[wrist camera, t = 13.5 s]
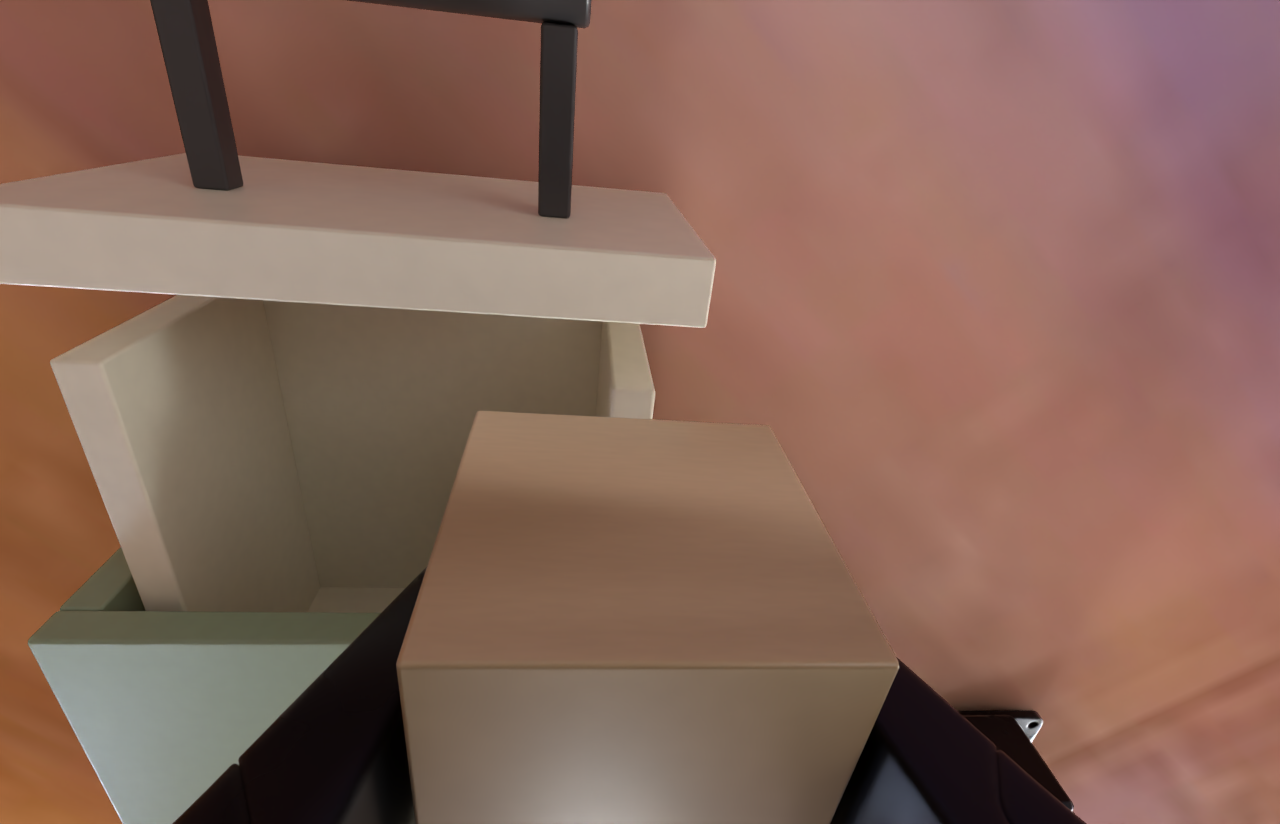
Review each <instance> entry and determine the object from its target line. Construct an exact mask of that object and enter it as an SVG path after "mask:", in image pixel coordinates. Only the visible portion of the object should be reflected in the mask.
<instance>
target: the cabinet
mask: <svg viewBox="0 0 1280 824" xmlns="http://www.w3.org/2000/svg"><path fill="white" fill-rule="evenodd" d="M379 614H380V613H328V612H190V611H146V610H145V608H144V605H143V602H142V600H141V597H140V595H139V592H138V589H137V587H136V584H135V582H134V579H133V577H132V574H131V571H130V569H129V566H128V564H127V561H126V558H125V556H124V553H123V551H122V548H121V547H120V548H119V549H118V550H117V551H116V552H115V553H114V554H113V555H112V556H111V557H110V558H109V559H108V560H107V561H106V562H105V563H104V564H103V565H102V566H101V567H100V568H99V569H98V570H97V571H96V572H95V573H94V574H93V575H92V576H91V577H90V578H89V579H88V580H87V581H86V582H85V583H84V584H83V585H82V586H81V587H80V588H79V589H78V590H77V591H76V592H75V593H74V594H73V595H72V596H71V597H70V598H69V599H68V600H67V601H66V602H65V603H64V604H63V605H62V606H61V608H60V611H58V612H56V613H54V614H53V615H52V616H51V617H50V618H49V619H48V620H47V621H46V622H45V623H44V624H43V625H42V626H41V627H40V628H39V629H38V630H37V631H36V632H35V633H34V634H33V635H32V636H31V637H30V638H29V640H28V645H29V647H30V649H31V651H32V653H33V655H34V657H35V658H36V660H37V662H38V664H39V666H40V668H41V670H42V672H43V674H44V675H45V677H46V679H47V681H48V683H49V685H50V687H51V689H52V691H53V693H54V694H55V696H56V698H57V700H58V702H59V704H60V706H61V708H62V710H63V712H64V713H65V715H66V717H67V719H68V721H69V723H70V725H71V727H72V729H73V730H74V732H75V734H76V736H77V738H78V740H79V742H80V744H81V746H82V748H83V749H84V751H85V753H86V755H87V757H88V759H89V761H90V763H91V765H92V766H93V768H94V770H95V772H96V774H97V776H98V778H99V780H100V782H101V784H102V785H103V787H104V789H105V791H106V793H107V795H108V797H109V799H110V801H111V802H112V804H113V806H114V808H115V810H116V812H117V814H118V816H119V818H120V820H121V821H122V823H123V824H172V823H173V822H174V821H175V820H177V819H178V818H179V817H180V816H181V815H182V814H183V813H184V812H185V811H186V810H187V809H188V808H189V807H190V806H191V805H192V804H193V803H194V802H195V801H196V800H197V799H198V798H199V797H200V796H201V795H202V794H203V793H204V792H205V791H206V790H207V789H208V788H209V787H210V786H211V785H212V784H213V783H214V782H215V781H216V780H217V779H218V778H219V777H220V776H221V775H222V774H223V773H224V772H225V771H226V770H227V769H228V768H229V767H230V766H231V765H232V764H238V765H239V762H238V759H239V757H240V756H241V755H242V754H243V753H244V752H245V751H246V750H247V749H248V748H249V747H250V746H251V745H252V744H253V743H254V742H255V741H256V740H257V739H258V738H259V737H260V736H261V735H262V734H263V732H264V731H265V730H266V729H267V728H268V727H269V726H270V725H271V724H272V723H273V722H274V721H275V720H276V719H277V718H278V717H279V716H280V715H281V714H282V713H283V712H284V711H285V710H286V709H287V708H288V707H289V706H290V705H291V704H292V703H293V702H294V701H295V700H296V699H297V698H298V697H299V696H300V695H301V694H302V693H303V692H304V691H305V690H306V689H307V688H308V687H309V686H310V685H311V684H312V683H313V682H314V681H315V680H316V679H317V678H318V677H319V676H320V674H321V673H322V672H323V671H324V670H325V669H326V668H327V667H328V666H329V665H330V664H331V663H332V662H333V661H334V660H335V659H336V658H337V657H338V656H339V655H340V654H341V653H342V652H343V651H344V650H345V649H346V648H347V647H348V646H349V645H350V644H351V643H352V642H353V641H354V640H355V639H356V638H357V637H358V636H359V635H360V634H361V633H362V632H363V631H364V630H365V629H366V628H367V627H368V626H369V625H370V624H371V623H372V622H373V621H374V620H375V619H376V618H377V617H378V615H379Z"/></svg>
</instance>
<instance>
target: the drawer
mask: <svg viewBox="0 0 1280 824" xmlns="http://www.w3.org/2000/svg"><path fill="white" fill-rule="evenodd" d="M150 1H151V6H152V10H153V14H154V19H155V23H156V27H157V31H158V36H159V40H160V44H161V49H162V53H163V57H164V61H165V66H166V70H167V74H168V79H169V83H170V87H171V91H172V96H173V100H174V104H175V109H176V113H177V117H178V121H179V126H180V130H181V134H182V139H183V143H184V147H185V151H186V153H182V154H176V155H170V156H164V157H158V158H152V159H146V160H141V161H135V162H129V163H123V164H117V165H111V166H105V167H99V168H93V169H87V170H81V171H75V172H69V173H63V174H57V175H52V176H46V177H40V178H34V179H28V180H22V181H16V182H10V183H4V184H0V284H12V285H28V286H44V287H60V288H76V289H92V290H108V291H124V292H140V293H156V294H172V295H176V296H174V297H172V298H170V299H168V300H166V301H165V302H163V303H161V304H159V305H157V306H155V307H153V308H151V309H149V310H147V311H145V312H143V313H141V314H139V315H137V316H135V317H133V318H131V319H129V320H128V321H126V322H124V323H122V324H120V325H118V326H116V327H114V328H112V329H110V330H108V331H106V332H104V333H102V334H100V335H98V336H96V337H94V338H93V339H91V340H89V341H87V342H85V343H83V344H81V345H79V346H77V347H75V348H73V349H71V350H69V351H67V352H65V353H63V354H61V355H59V356H58V357H56V358H54V359H52V360H51V361H50V364H51V367H52V370H53V372H54V375H55V377H56V380H57V382H58V385H59V388H60V390H61V393H62V395H63V398H64V401H65V403H66V406H67V408H68V411H69V413H70V416H71V419H72V421H73V424H74V426H75V429H76V432H77V434H78V437H79V439H80V442H81V445H82V447H83V450H84V452H85V455H86V457H87V460H88V463H89V465H90V468H91V470H92V473H93V476H94V478H95V481H96V483H97V486H98V489H99V491H100V494H101V496H102V499H103V501H104V504H105V507H106V509H107V512H108V514H109V517H110V520H111V522H112V525H113V527H114V530H115V533H116V535H117V538H118V540H119V543H120V545H121V548H122V551H123V553H124V556H125V558H126V561H127V564H128V566H129V569H130V571H131V574H132V577H133V579H134V582H135V584H136V587H137V589H138V592H139V595H140V597H141V600H142V602H143V605H144V608H145V610H146V611H190V612H328V613H381V612H382V611H383V610H384V609H385V608H386V607H387V606H388V605H389V604H390V603H391V602H392V601H393V600H394V599H395V598H396V597H397V596H398V595H399V594H400V593H401V592H402V591H403V590H404V589H405V588H406V587H407V586H408V585H409V584H410V583H411V582H412V581H413V580H414V579H415V578H416V577H417V576H418V575H419V574H420V573H421V572H422V571H423V570H424V569H425V568H426V567H427V565H428V562H429V559H430V556H431V553H432V550H433V546H434V543H435V540H436V537H437V534H438V531H439V528H440V524H441V521H442V518H443V515H444V512H445V509H446V506H447V503H448V499H449V496H450V493H451V490H452V487H453V484H454V481H455V478H456V474H457V471H458V468H459V465H460V462H461V459H462V456H463V452H464V449H465V446H466V443H467V440H468V437H469V434H470V431H471V427H472V424H473V421H474V418H475V415H476V413H477V411H498V412H517V413H537V414H557V415H576V416H596V417H615V418H635V419H652V418H653V409H654V401H655V389H654V384H653V380H652V376H651V371H650V367H649V363H648V358H647V354H646V350H645V345H644V341H643V337H642V332H641V328H640V324H651V325H667V326H683V327H699V328H704V327H706V325H707V319H708V312H709V306H710V299H711V293H712V286H713V280H714V273H715V267H716V258H715V257H714V256H713V254H712V253H711V252H710V250H709V249H708V248H707V246H706V245H705V244H704V242H703V241H702V240H701V239H700V237H699V236H698V235H697V233H696V232H695V231H694V229H693V228H692V227H691V225H690V224H689V223H688V221H687V220H686V219H685V218H684V216H683V215H682V214H681V212H680V211H679V210H678V208H677V207H676V206H675V204H674V203H673V202H672V200H671V199H670V198H669V196H668V195H667V194H666V193H658V192H647V191H635V190H624V189H613V188H601V187H590V186H579V185H572V166H573V141H574V116H575V92H576V67H577V42H578V30H577V27H578V28H586V27H588V26H589V24H590V15H591V0H349V1H358V2H366V3H375V4H383V5H392V6H400V7H409V8H417V9H426V10H434V11H443V12H451V13H460V14H468V15H477V16H485V17H493V18H502V19H510V20H519V21H527V22H536V23H542V25H541V61H540V123H539V182H533V181H522V180H510V179H499V178H488V177H476V176H465V175H454V174H442V173H431V172H420V171H408V170H397V169H385V168H374V167H363V166H351V165H340V164H329V163H317V162H306V161H295V160H283V159H272V158H260V157H249V156H238V153H237V148H236V143H235V138H234V133H233V128H232V123H231V118H230V113H229V108H228V102H227V97H226V92H225V87H224V82H223V77H222V72H221V67H220V62H219V57H218V52H217V47H216V41H215V36H214V31H213V26H212V21H211V16H210V11H209V6H208V1H207V0H150Z"/></svg>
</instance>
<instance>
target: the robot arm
mask: <svg viewBox="0 0 1280 824" xmlns="http://www.w3.org/2000/svg"><path fill="white" fill-rule="evenodd" d="M426 568H427V567H426ZM426 568H425V569H424V570H423V571H422V572H421V573H420V574H419V575H418V576H417V577H416V578H415V579H414V580H413V581H412V582H411V583H410V584H409V585H408V586H407V587H406V588H405V589H404V590H403V591H402V592H401V593H400V594H399V595H398V596H397V597H396V598H395V599H394V600H393V601H392V602H391V603H390V604H389V605H388V606H387V607H386V608H385V609H384V610H383V611H382V612H381V613H380V614H379V615H378V617H377V618H376V619H375V620H374V621H373V622H372V623H371V624H370V625H369V626H368V627H367V628H366V629H365V630H364V631H363V632H362V633H361V634H360V635H359V636H358V637H357V638H356V639H355V640H354V641H353V642H352V643H351V644H350V645H349V646H348V647H347V648H346V649H345V650H344V651H343V652H342V653H341V654H340V655H339V656H338V657H337V658H336V659H335V660H334V661H333V662H332V663H331V664H330V665H329V666H328V667H327V668H326V669H325V670H324V671H323V672H322V673H321V674H320V676H319V677H318V678H317V679H316V680H315V681H314V682H313V683H312V684H311V685H310V686H309V687H308V688H307V689H306V690H305V691H304V692H303V693H302V694H301V695H300V696H299V697H298V698H297V699H296V700H295V701H294V702H293V703H292V704H291V705H290V706H289V707H288V708H287V709H286V710H285V711H284V712H283V713H282V714H281V715H280V716H279V717H278V718H277V719H276V720H275V721H274V722H273V723H272V724H271V725H270V726H269V727H268V728H267V729H266V730H265V731H264V732H263V734H262V735H261V736H260V737H259V738H258V739H257V740H256V741H255V742H254V743H253V744H252V745H251V746H250V747H249V748H248V749H247V750H246V751H245V752H244V753H243V754H242V755H241V756H240V757H239V759H238V762H239V765H238V764H232V765H231V766H230V767H229V768H228V769H227V770H226V771H225V772H224V773H223V774H222V775H221V776H220V777H219V778H218V779H217V780H216V781H215V782H214V783H213V784H212V785H211V786H210V787H209V788H208V789H207V790H206V791H205V792H204V793H203V794H202V795H201V796H200V797H199V798H198V799H197V800H196V801H195V802H194V803H193V804H192V805H191V806H190V807H189V808H188V809H187V810H186V811H185V812H184V813H183V814H182V815H181V816H180V817H179V818H178V819H177V820H175V821H174V822H173V823H172V824H415V815H414V807H413V799H412V791H411V783H410V774H409V766H408V758H407V750H406V742H405V733H404V725H403V717H402V709H401V701H400V692H399V684H398V676H397V668H396V662H397V659H398V656H399V653H400V650H401V647H402V643H403V640H404V637H405V634H406V631H407V628H408V625H409V622H410V618H411V615H412V612H413V609H414V606H415V603H416V600H417V596H418V593H419V590H420V587H421V584H422V581H423V578H424V575H425V571H426ZM896 658H897V657H896ZM897 660H898V662H899V669H898V672H897V674H896V676H895V678H894V681H893V683H892V685H891V687H890V690H889V692H888V694H887V696H886V699H885V701H884V703H883V706H882V708H881V710H880V712H879V715H878V717H877V719H876V721H875V724H874V726H873V728H872V730H871V733H870V735H869V737H868V739H867V742H866V744H865V746H864V748H863V751H862V753H861V755H860V757H859V760H858V762H857V764H856V766H855V769H854V771H853V773H852V775H851V778H850V780H849V782H848V785H847V787H846V789H845V791H844V794H843V796H842V798H841V800H840V803H839V805H838V807H837V809H836V812H835V814H834V816H833V818H832V821H831V823H830V824H1086V823H1085V822H1084V821H1083V820H1081V819H1080V818H1079V817H1078V816H1076V815H1075V813H1074V812H1073V808H1074V805H1073V803H1072V801H1071V800H1070V798H1069V797H1068V795H1067V794H1066V793H1065V791H1064V790H1063V788H1062V787H1061V785H1060V784H1059V782H1058V781H1057V779H1056V778H1055V776H1054V775H1053V773H1052V772H1051V771H1050V769H1049V768H1048V766H1047V765H1046V763H1045V762H1044V760H1043V759H1042V757H1041V756H1040V754H1039V753H1038V751H1037V750H1036V748H1035V747H1034V746H1033V744H1032V741H1033V739H1034V738H1035V736H1036V735H1037V733H1038V731H1039V730H1040V728H1041V727H1042V725H1043V720H1042V718H1041V717H1040V716H1039V714H1038V713H1037V712H1036V711H1032V710H1028V711H957V710H955V709H954V708H953V707H952V706H951V705H950V704H949V703H948V702H946V701H945V700H944V699H943V698H942V697H941V696H940V695H939V694H937V693H936V692H935V691H934V690H933V689H932V688H931V687H930V686H928V685H927V684H926V683H925V682H924V681H923V680H922V679H921V678H919V677H918V676H917V675H916V674H915V673H914V672H913V671H912V670H910V669H909V668H908V667H907V666H906V665H905V664H904V663H903V662H901V661H900V660H899V659H898V658H897Z"/></svg>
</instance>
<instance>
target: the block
mask: <svg viewBox="0 0 1280 824" xmlns="http://www.w3.org/2000/svg"><path fill="white" fill-rule="evenodd" d="M396 668H397V676H398V684H399V692H400V701H401V709H402V717H403V725H404V733H405V742H406V750H407V758H408V766H409V774H410V783H411V791H412V799H413V807H414V815H415V824H830V823H831V821H832V818H833V816H834V814H835V812H836V809H837V807H838V805H839V803H840V800H841V798H842V796H843V794H844V791H845V789H846V787H847V785H848V782H849V780H850V778H851V775H852V773H853V771H854V769H855V766H856V764H857V762H858V760H859V757H860V755H861V753H862V751H863V748H864V746H865V744H866V742H867V739H868V737H869V735H870V733H871V730H872V728H873V726H874V724H875V721H876V719H877V717H878V715H879V712H880V710H881V708H882V706H883V703H884V701H885V699H886V696H887V694H888V692H889V690H890V687H891V685H892V683H893V681H894V678H895V676H896V674H897V672H898V669H899V662H898V660H897V658H896V656H895V654H894V652H893V650H892V649H891V647H890V645H889V643H888V641H887V639H886V638H885V636H884V634H883V632H882V630H881V628H880V627H879V625H878V623H877V621H876V619H875V617H874V616H873V614H872V612H871V610H870V608H869V606H868V605H867V603H866V601H865V599H864V597H863V595H862V594H861V592H860V590H859V588H858V586H857V584H856V583H855V581H854V579H853V577H852V575H851V573H850V572H849V570H848V568H847V566H846V564H845V562H844V561H843V559H842V557H841V555H840V553H839V551H838V550H837V548H836V546H835V544H834V542H833V540H832V539H831V537H830V535H829V533H828V531H827V529H826V528H825V526H824V524H823V522H822V520H821V518H820V517H819V515H818V513H817V511H816V509H815V507H814V506H813V504H812V502H811V500H810V498H809V496H808V495H807V493H806V491H805V489H804V487H803V486H802V484H801V482H800V480H799V478H798V476H797V475H796V473H795V471H794V469H793V467H792V465H791V464H790V462H789V460H788V458H787V456H786V454H785V453H784V451H783V449H782V447H781V445H780V443H779V442H778V440H777V438H776V436H775V434H774V432H773V431H772V429H771V427H770V426H768V425H753V424H733V423H714V422H694V421H674V420H655V419H635V418H615V417H596V416H576V415H557V414H537V413H517V412H498V411H477V413H476V415H475V418H474V421H473V424H472V427H471V431H470V434H469V437H468V440H467V443H466V446H465V449H464V452H463V456H462V459H461V462H460V465H459V468H458V471H457V474H456V478H455V481H454V484H453V487H452V490H451V493H450V496H449V499H448V503H447V506H446V509H445V512H444V515H443V518H442V521H441V524H440V528H439V531H438V534H437V537H436V540H435V543H434V546H433V550H432V553H431V556H430V559H429V562H428V565H427V568H426V571H425V575H424V578H423V581H422V584H421V587H420V590H419V593H418V596H417V600H416V603H415V606H414V609H413V612H412V615H411V618H410V622H409V625H408V628H407V631H406V634H405V637H404V640H403V643H402V647H401V650H400V653H399V656H398V659H397V662H396Z"/></svg>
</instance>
